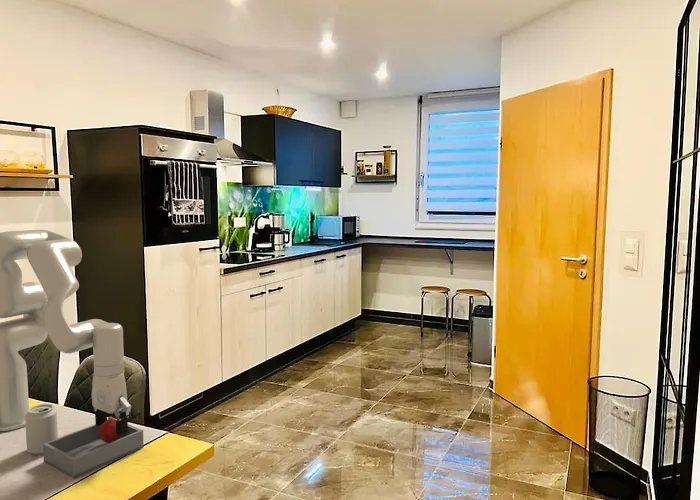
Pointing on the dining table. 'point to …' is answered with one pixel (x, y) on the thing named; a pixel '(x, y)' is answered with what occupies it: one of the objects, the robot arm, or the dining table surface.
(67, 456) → the tote
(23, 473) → the dining table surface
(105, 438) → the onion
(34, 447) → the can
